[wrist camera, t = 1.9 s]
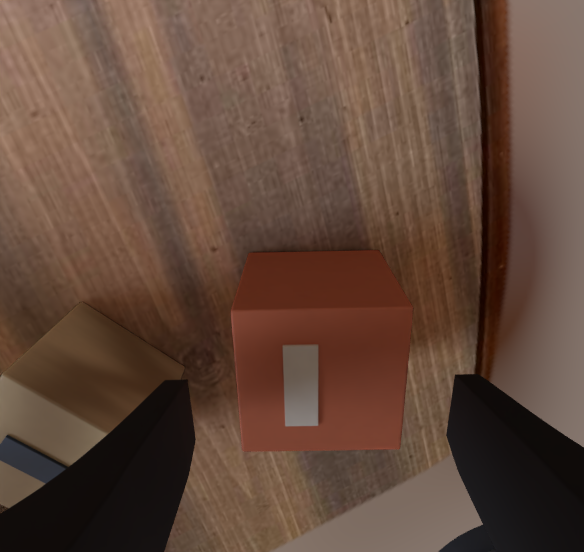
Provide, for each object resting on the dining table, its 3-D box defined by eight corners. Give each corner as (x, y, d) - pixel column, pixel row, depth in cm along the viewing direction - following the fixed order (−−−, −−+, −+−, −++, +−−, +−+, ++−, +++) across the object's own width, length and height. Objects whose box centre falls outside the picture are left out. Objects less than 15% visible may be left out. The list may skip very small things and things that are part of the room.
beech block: (186, 366, 18) (148, 459, 13) (126, 438, 20) (73, 544, 15) (81, 300, 17) (-1, 375, 12) (26, 381, 18) (-67, 476, 14)
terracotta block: (373, 361, 18) (401, 452, 13) (255, 363, 18) (241, 454, 13) (379, 249, 16) (415, 308, 11) (248, 252, 16) (229, 311, 11)
